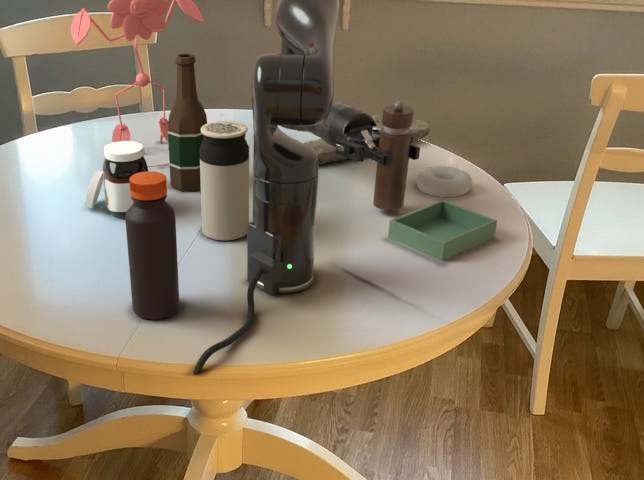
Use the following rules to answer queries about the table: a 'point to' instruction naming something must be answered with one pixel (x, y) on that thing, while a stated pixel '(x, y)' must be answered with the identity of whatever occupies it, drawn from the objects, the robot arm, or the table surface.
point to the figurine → (136, 18)
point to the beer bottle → (185, 129)
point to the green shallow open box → (442, 229)
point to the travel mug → (224, 180)
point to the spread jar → (117, 176)
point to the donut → (444, 181)
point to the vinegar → (152, 247)
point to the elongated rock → (417, 128)
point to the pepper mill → (394, 157)
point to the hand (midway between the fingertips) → (403, 157)
